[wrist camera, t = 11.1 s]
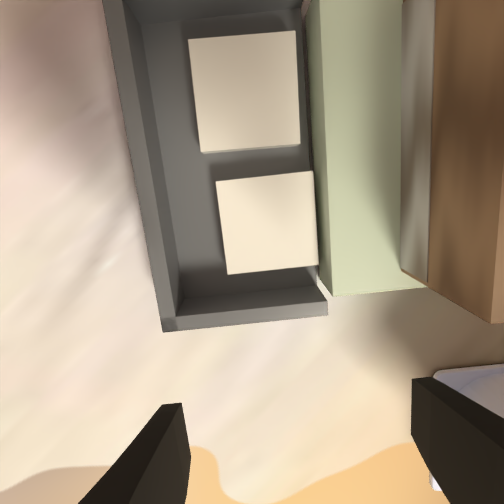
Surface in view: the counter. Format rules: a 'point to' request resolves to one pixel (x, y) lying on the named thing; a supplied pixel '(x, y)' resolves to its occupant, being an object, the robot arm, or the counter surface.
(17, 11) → the counter surface
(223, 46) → the tile
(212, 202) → the tray
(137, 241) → the counter surface
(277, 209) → the tile
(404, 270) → the brown wooden block
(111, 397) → the counter surface
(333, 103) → the plate
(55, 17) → the counter surface
